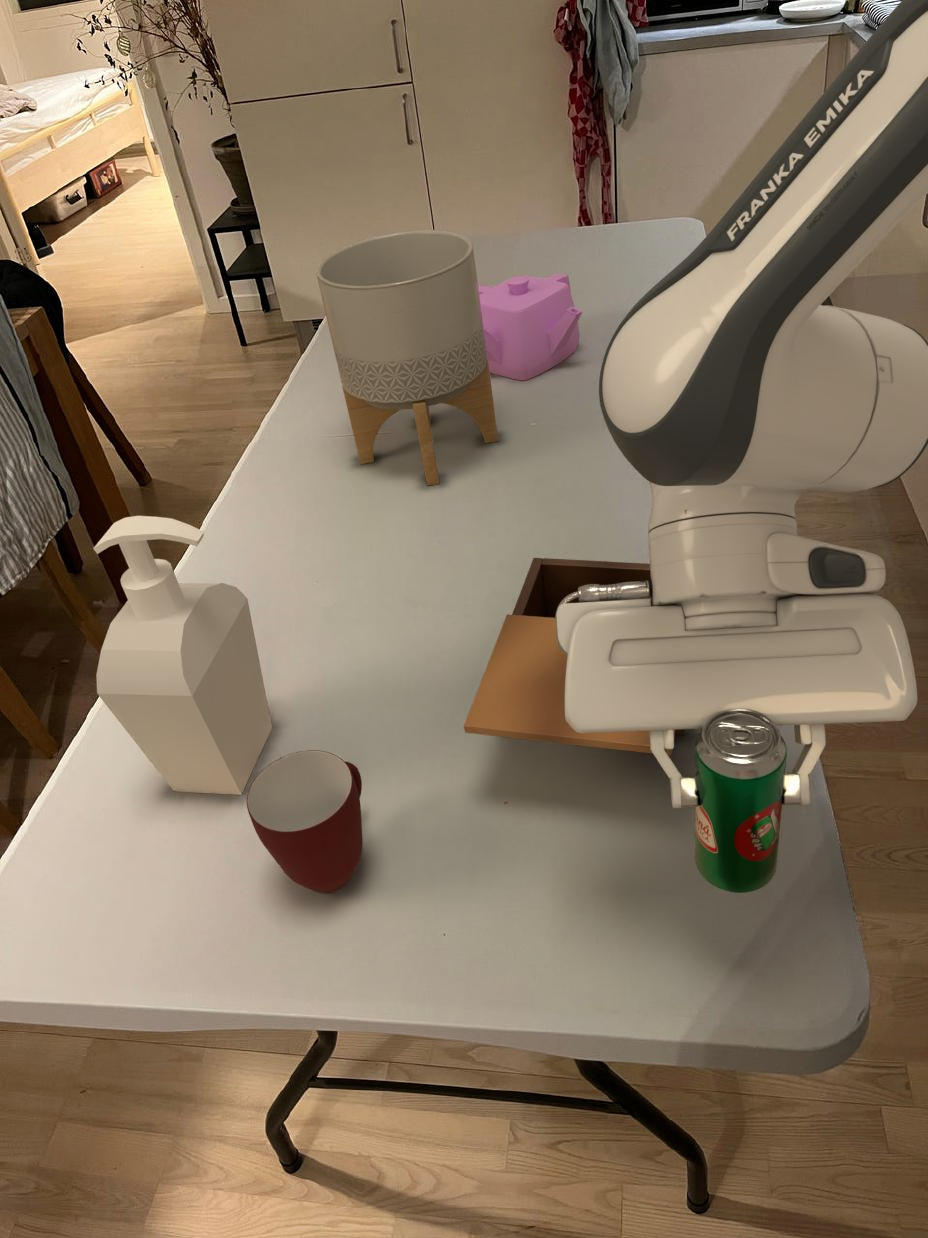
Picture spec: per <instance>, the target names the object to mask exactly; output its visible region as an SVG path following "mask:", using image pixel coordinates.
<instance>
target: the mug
mask: <svg viewBox="0 0 928 1238" xmlns="http://www.w3.org/2000/svg"><path fill="white" fill-rule="evenodd" d="M362 781H363V780H362V775H361V773H360V770H359V769H358V767H357V766H356V765H355V764H354V763H352V762H350V761H345V760H344V759H342V758H341V757H340V756H338V755H336V754H334V753H332V752H328V751H326V750H325V751H324V750H317V749H316V750H315V749H310V750H300V751H296V752H292V753H289V754H287V755H284V756H282V757H279V758H278V759H276V760H274V761H273V762H271V763H269V764H268V765H267V766H266V767H264V768H263V769H262V770H261V771H260V772H259V773H258V774H257V775H256V777H255V778H254V780H253V781H252V783H251V784H250V787H249V789H248V792H247V795H246V808H247V813H248V815H249V817H250V820H251V823H252V825H253V828H254V830H255V833H256V835H257V837H258V839H259V840H260V842H261V844H262V845H263V846H264V848H265V849H266V851H267V852H268V853H269V854H270V856H271V857H272V858H273V860H274V861H275V862H276V863H277V864H278V866H279V868H280V869H281V870H282V872H283V873H284V874H285V875H286V876H287V877H288V878H289V879H290V880H291V881H293V882H294V883H296V884H297V885H299V886H301V887H303V888H306V889H307V890H311V891H313V892H316V893H322V894H326V893H327V894H328V893H333V892H336V891H338V890H340V889H342V888H343V887H344V886H346V885H347V884H348V883H349V881H350V880H351V879H352V877H353V875H354V873H355V871H356V869H357V867H358V864H359V862H360V859H361V857H362V852H363V826H362V821H363V820H362V808H361V795H362V789H363V787H362V786H363V782H362Z"/></svg>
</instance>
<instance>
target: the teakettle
mask: <svg viewBox="0 0 928 1238" xmlns="http://www.w3.org/2000/svg"><path fill="white" fill-rule="evenodd" d="M478 289H479V296H480V304H481V312H482V320H483V327H484V335H485V343H486V350H487V360H488V364H489V372H490V374H493V375H497V376H501V377H504V378H509V379H513V380H517V381H527V380H530V379H533V378H535V377H537V376H539V375H541V374H543V373H544V372H547V371H549V370H551V369H552V368H554V367H556V366H557V365H559V364H560V363H562V362H564V361H565V360H566V359H567V358H569V357H571V356H572V354H574V353H575V352H576V351H577V350H578V345H579V339H580V329H579V320H580V318H581V317H582V314H583V310H581V309H579V308H577V307H575V303H574V300H573V297H572V290H571V283H570V276H569V274H566V273H565V274H564V273H559V272H557V273H554V274H552V275H550V276H548V277H546V278H541V277H537V276H531V275H525V274H524V275H523V274H522V275H516V276H513V277H511V278H509V279H507V280H505V281H503V282H501V283H499V284H497V285H495V286H489V285H488V286H487V285H482V284H478Z"/></svg>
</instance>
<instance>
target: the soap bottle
mask: <svg viewBox="0 0 928 1238" xmlns="http://www.w3.org/2000/svg"><path fill="white" fill-rule="evenodd" d="M204 536H205V532H204V530H201V529H199V528H197V527H195V526H193V525H191V524H189V523H186V522H183V521H180V520H177V519H174V518H171V517H162V516H151V515H150V516H149V515H148V516H147V515H133V516H126V517H123V518H121V519H119V520H117V521H115V522H113V523H112V525H111V526H109V529H107V531H106V532H105V533H104V534H103V536H102V537H101V538H100V539H99V541H97V543H96V544H95V546H93V548H92V549H93V551H94V552H95V554H97V555H98V554H100V553H102V552H103V551H104V550H107V549H108V548H109V547H113V546H116V545H118V546H119V548H120V551H121V553H122V555H123V557H124V559H125V563H126V564H127V566H128V568H127V569H126V570H125V571H124V572H123V574H122V575H121V578H120V579H119V581H120V585H121V587H122V589H123V592H124V594H125V596H126V598H127V601H126V602H125V604H124V605H123V606H122V608H121V609H120V610H119V611H118V613H117V614H116V616H115V617H114V618H113V619H112V621H111V622H110V624H109V627H108V630H107V633H106V635H105V638H104V641H103V644H102V646H101V648H100V654H99V658H98V659H99V660H98V665H97V670H96V694H97V695H98V696H99V697H100V699H101V701H102V702H103V703H104V704H105V706H106V707H107V708H108V710H109V711H110V712H111V713H112V714H113V716H114V717H115V718H116V720H117V722H119V723H120V725H121V726H122V728H123V729H124V730H125V731H126V733H127V734H128V735H129V736H130V738H131V739H132V740H133V741H134V743H135V744H136V745H137V747H138V748H139V749H140V750H141V752H142V753H143V754H144V755H145V757H146V758H147V759H148V760H149V762H150V763H151V765H153V767H154V768H155V769H156V770H157V772H158V773H159V774H160V776H161V777H162V779H164V781H165V782H166V783H167V785H168V786H169V787H170V788H171V790H172V791H173V792H177V793H178V792H180V793H197V794H198V793H201V794H217V795H221V794H222V795H234V796H235V795H236V796H242V795H243V793H244V790H245V788H246V786H247V784H248V781H249V780H250V777H251V775H252V773H253V771H254V769H255V766H256V764H257V762H258V760H259V757H260V756H261V753H262V752H263V749H264V747H265V745H266V743H267V740H268V739H269V736H270V734H271V731H272V730H273V725H272V724H273V723H272V718H271V713H270V707H269V702H268V699H267V693H266V688H265V683H264V678H263V673H262V667H261V663H260V661H261V660H260V657H259V652H258V646H257V641H256V635H255V630H254V625H253V620H252V615H251V610H250V603H249V599H248V597H247V596H246V595H245V594H244V593H243V592H242V591H241V590H240V589H239V588H238V587H237V586H235V585H231V584H227V583H223V582H179V581H178V578H177V576H176V573H175V571H174V568H173V567H172V563H171V562H169V561H168V560H167V559H162V558H154V556H153V553H152V551H151V548H150V546H149V543H148V541H155V540H166V541H170V542H171V541H172V542H178V543H182V544H186V545H190V546H195V547H198V546H199V544H200V543H201V542H202V540H203V538H204Z"/></svg>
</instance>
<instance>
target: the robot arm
mask: <svg viewBox="0 0 928 1238" xmlns="http://www.w3.org/2000/svg"><path fill="white" fill-rule="evenodd" d="M927 195H928V0H901V1H900V2H899V3H898V5H896V7H895V8H894V9H893V10H892V11H891V12H890V14H888V16H886V18H885V19H884V20H883V22H882V23H881V24H880V25H879V26H878V27H877V29H875V31H874V32H873V33H872V35H871V36H869V38H868V39H867V40H866V41H865V42H864V44H862V46H861V47H860V48H859V50H858V51H857V52H856V54H855V55H854V56H853V57H852V58H851V60H849V62H848V63H847V64H846V66H845V67H844V68H843V69H842V70H841V72H840V73H839V74H838V75H837V76H836V77H835V79H833V81H832V82H831V84H830V85H829V86H828V87H827V88H826V90H825V91H824V92H823V94H822V95H821V96H820V97H819V99H817V101H816V102H815V103H814V105H813V106H812V107H811V108H810V109H809V111H808V112H807V113H806V115H804V117H803V118H802V119H801V120H800V121H799V123H798V124H797V125H796V126H795V128H794V129H793V130H792V131H791V133H790V134H789V135H788V137H787V138H785V140H784V141H783V143H781V144H780V146H779V147H778V149H776V151H775V152H774V153H773V154H772V156H771V157H770V158H769V160H768V161H767V162H766V163H765V164H764V165H763V167H761V169H760V170H759V172H758V173H757V175H755V177H754V178H753V179H752V180H751V182H750V183H749V184H748V186H746V188H745V189H744V190H743V192H742V193H741V194H740V195H739V196H738V198H737V199H736V200H735V201H734V202H733V204H732V205H731V206H730V207H729V209H727V211H726V212H725V214H723V216H722V217H721V218H720V220H719V221H718V222H717V223H716V224H715V225H714V227H713V228H712V229H711V230H710V232H709V233H708V234H707V235H706V236H705V237H704V238H703V240H702V241H701V242H700V243H699V244H698V245H697V246H696V247H695V248H694V249H693V250H692V252H691V253H689V255H687V256H686V257H685V258H684V259H683V260H682V261H681V262H680V263H679V264H678V265H676V267H674V268H673V269H672V270H671V271H669V272H668V273H667V274H666V275H665V276H664V277H663V278H661V279H660V280H659V281H657V283H656V284H655V285H654V286H652V288H650V290H648V291H647V292H646V293H645V294H643V296H642V297H641V298H640V299H639V300H638V301H637V302H636V303H635V304H634V305H633V307H632V308H631V309H630V310H629V311H628V312H627V314H626V315H625V316H624V317H623V319H622V320H621V322H620V323H619V325H618V327H617V328H616V330H615V331H614V333H613V335H612V337H611V339H610V341H609V342H608V346H607V347H606V350H605V352H604V356H603V359H602V362H601V367H600V371H599V379H598V399H599V405H600V409H601V413H602V416H603V419H604V422H605V425H606V427H607V430H608V432H609V434H610V436H611V438H612V440H613V442H614V443H615V445H616V446H617V448H618V449H619V451H620V452H621V454H622V455H623V457H625V459H626V460H627V462H628V463H629V464H630V465H631V466H632V468H634V469H635V470H636V471H637V473H638V474H639V475H640V476H641V477H643V478H644V480H647V481H648V482H649V485H650V491H651V499H652V501H651V510H650V515H649V519H648V525H647V538H648V555H649V564H650V573H651V579H650V580H648V581H635V582H623V583H617V584H612V585H599V584H589V585H583V586H580V587H578V591H577V592H574V593H571V594H569V595H568V596H566V597H565V598H564V599H563V600H562V601H561V602H560V604H559V606H558V608H557V611H556V616H555V618H556V638H557V642H558V645H559V647H560V649H561V650H562V651H563V652H564V653H565V654H566V655H567V656H568V657H567V666H566V678H565V719H566V722H567V723H568V724H569V725H570V726H571V727H572V728H573V729H574V730H575V731H576V732H578V733H599V732H624V731H649V737H650V750H651V751H652V753H651V754H653V756H654V757H655V759H656V760H657V762H658V764H659V765H660V766H661V768H662V769H663V771H664V773H665V774H666V776H667V777H668V779H669V783H670V784H669V785H670V794H671V795H670V799H671V807H672V808H673V809H685V808H688V809H689V808H695V807H698V798H697V796H696V794H695V791H696V789H697V788H696V781H695V775H682V774H681V773H680V771H679V770H678V768H677V767H676V765H675V763H674V762H673V761H672V759H671V758H670V755H667V753H666V752H665V750H664V748H666V749H672V750H673V749H674V748H675V735H674V731H673V730H677V729H686V730H702V729H703V727H704V725H705V723H706V722H707V720H708V719H709V718H710V717H712V716H713V715H715V714H716V713H718V712H721V711H724V710H728V709H736V708H741V709H750V710H754V711H757V712H759V713H762V714H764V715H766V716H767V717H769V718H770V719H771V720H772V721H773V722H774V723H775V724H776V725H777V727H781V726H793V732H794V742H795V743H796V744H799V745H804V746H803V748H802V750H801V752H800V754H799V756H798V758H797V759H796V763H795V764H794V765H793V768H792V770H791V772H785V780H784V792H783V803H782V806H783V805H784V806H803V805H804V806H805V805H807V806H809V805H810V804H811V791H810V790H811V789H810V779H809V775H811V774H812V772H813V770H814V768H815V766H816V764H817V762H818V761H819V759H820V756H821V755H822V753H823V751H824V749H825V747H826V745H827V740H826V739H827V738H826V726H825V725H831V724H832V725H833V724H834V725H835V724H858V723H859V724H861V723H886V722H904V721H906V720H907V719H908V718H909V716H910V715H911V714H912V713H913V711H914V710H915V708H916V706H917V704H918V688H917V687H918V686H917V680H916V673H915V666H914V662H913V656H912V652H911V651H912V650H911V646H910V642H909V637H908V634H907V631H906V627H905V624H904V621H903V618H902V617H901V615H900V613H899V611H898V609H897V608H896V607H895V606H894V605H893V604H892V602H890V601H889V600H888V599H886V598H885V597H883V596H880V595H878V594H875V593H877V592H878V591H879V590H881V589H882V587H883V586H884V585H885V583H886V576H887V575H886V574H887V573H886V565H885V561H884V559H883V558H882V557H881V556H880V555H878V554H876V553H873V552H870V551H867V550H861V549H857V548H852V547H849V546H844V545H839V544H835V543H829V542H826V541H821V540H817V539H813V538H810V537H805V536H800V535H798V525H797V516H796V511H795V507H796V503H797V502H798V500H799V499H800V498H801V497H802V496H804V495H806V494H807V495H808V494H810V493H815V492H816V493H817V492H819V493H820V492H821V493H832V494H850V493H857V492H862V491H866V490H870V489H876V488H880V487H884V486H886V485H889V484H891V483H892V482H894V481H897V480H898V479H899V478H900V477H902V476H903V475H904V474H905V473H906V472H907V471H909V469H911V468H912V467H913V466H914V464H916V462H918V460H919V459H920V457H921V456H922V454H923V453H924V452H925V450H926V448H927V447H928V341H927V339H926V338H925V337H924V336H923V335H922V334H921V333H920V332H918V331H917V330H916V329H915V328H913V327H911V326H910V325H907V324H903V323H900V322H898V321H895V320H893V319H889V318H887V317H883V316H880V315H874V314H870V313H867V312H862V311H859V310H854V309H849V308H843V307H839V306H834V305H823V303H824V302H825V301H826V300H827V298H828V297H829V296H831V295H832V294H833V292H834V291H835V290H836V289H837V288H838V287H839V286H840V285H841V284H842V283H843V282H845V279H847V278H848V277H849V276H850V274H851V273H852V272H853V271H854V270H855V269H856V268H857V267H858V266H859V265H860V264H861V263H862V262H863V261H864V260H865V259H866V258H867V257H868V256H869V254H871V253H872V251H873V250H874V249H875V248H876V247H877V246H878V245H879V244H880V243H881V242H882V241H883V240H884V239H885V238H886V237H887V236H888V235H889V234H890V233H891V231H892V230H893V229H894V228H895V227H896V226H897V225H898V224H899V223H900V222H901V221H902V220H903V219H904V218H905V217H906V216H907V214H908V213H910V212H911V211H912V209H914V208H915V207H916V205H917V204H918V203H919V202H920V201H921V200H922V199H923V198H925V197H926V196H927ZM650 596H651V597H652V605H653V606H652V607H651V599H650ZM576 598H579V601H580V602H582V603H569V602H570V601H572V600H574V599H576ZM603 600H615V601H603Z"/></svg>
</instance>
